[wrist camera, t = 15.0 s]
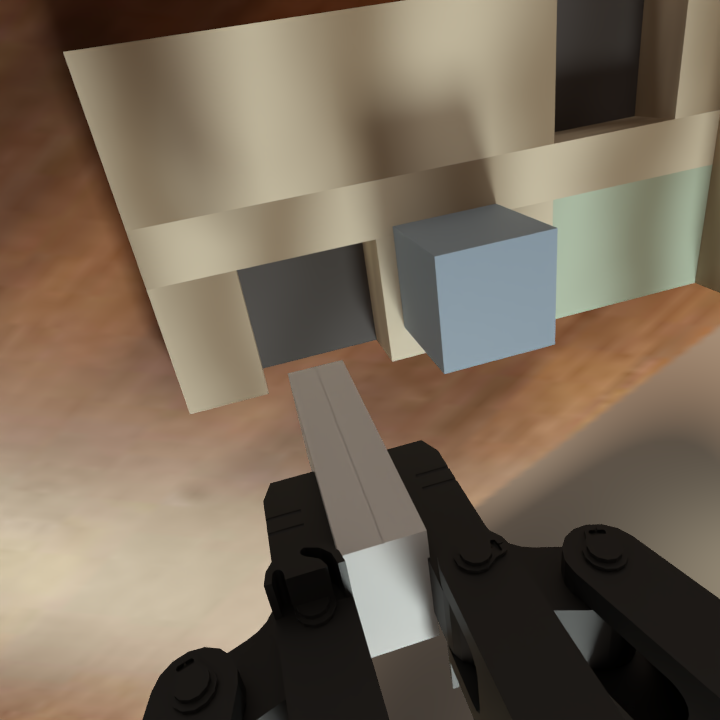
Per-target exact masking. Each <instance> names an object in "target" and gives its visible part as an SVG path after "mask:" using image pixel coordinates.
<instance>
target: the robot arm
mask: <svg viewBox="0 0 720 720" xmlns="http://www.w3.org/2000/svg"><path fill="white" fill-rule="evenodd" d="M288 376H289V380H290V385H291V389H292V393H293V397H294V401H295V405H296V410H297V414H298V418H299V422H300V426H301V430H302V435H303V439H304V443H305V447H306V451H307V455H308V459H309V463H310V466H311V470H312V472H310V473H306V474H303V475H299V476H295V477H292V478H288V479H285V480H281V481H277V482H274V483H270V486H269V488H268V491H267V493H266V496H265V498H264V501H263V502H264V510H265V517H266V524H267V532H268V539H269V546H270V553H271V561H272V562H271V564H270V566H269V568H268V569H267V571H266V573H265V581H264V588H265V591H266V594H267V597H268V600H269V603H270V606H271V609H272V613H271V615H270V617H269V619H268V620H267V622H266V623H265V624H264V625H263V627H262V628H261V629H260V630H259V631H258V632H257V633H256V634H255V635H253V636H252V637H251V638H249V639H248V640H247V641H245V642H244V643H242V644H241V645H239V646H238V647H236V648H235V649H233V650H231V651H230V652H228V653H226V652H224V651H223V650H221V649H218V648H207V647H204V648H200V649H197V650H193V651H190V652H187V653H186V654H184V655H183V656H181V657H179V658H178V659H176V660H175V661H173V662H172V663H171V664H170V665H169V666H168V667H167V669H166V670H165V671H164V672H163V673H162V674H161V675H160V676H159V678H158V680H157V682H156V684H155V686H154V688H153V690H152V692H151V695H150V698H149V701H148V704H147V707H146V711H145V714H144V717H143V720H389V717H388V714H387V710H386V707H385V704H384V700H383V696H382V693H381V690H380V686H379V683H378V679H377V676H376V672H375V669H374V665H373V662H372V659H371V658H372V657H375V656H378V655H381V654H384V653H387V652H390V651H393V650H396V649H399V648H402V647H405V646H408V645H411V644H414V643H417V642H420V641H423V640H426V639H429V638H432V637H435V636H438V635H439V628H438V622H439V624H440V627H441V629H442V631H443V634H444V636H445V638H446V640H447V647H448V656H449V664H450V673H451V679H452V684H453V689H454V688H457V687H459V685H460V687H461V690H462V692H463V694H464V697H465V699H466V702H467V704H468V706H469V709H470V711H471V713H472V716H473V718H474V720H720V599H719V598H718V597H716V596H715V595H713V594H712V593H711V592H709V591H708V590H706V589H705V588H704V587H702V586H701V585H699V584H698V583H697V582H695V581H694V580H693V579H691V578H690V577H688V576H687V575H686V574H684V573H683V572H682V571H680V570H679V569H677V568H676V567H675V566H673V565H672V564H670V563H669V562H668V561H666V560H665V559H664V558H662V557H661V556H659V555H658V554H657V553H655V552H654V551H652V550H651V549H650V548H648V547H647V546H646V545H644V544H643V543H641V542H640V541H639V540H637V539H636V538H635V537H633V536H631V535H630V534H628V533H626V532H624V531H622V530H620V529H618V528H615V527H610V526H607V525H602V524H601V525H599V524H597V525H585V526H582V527H579V528H576V529H573V530H572V531H571V532H570V533H569V534H568V535H567V536H566V537H565V540H564V543H563V546H562V547H540V548H531V547H520V546H516V545H513V544H509V543H508V542H507V541H506V540H505V539H504V538H503V537H502V536H500V535H497V534H496V533H493V532H491V531H489V529H488V528H487V527H486V526H485V524H484V523H483V521H482V520H481V518H480V516H479V515H478V513H477V512H476V510H475V509H474V507H473V505H472V504H471V502H470V501H469V499H468V498H467V496H466V494H465V493H464V491H463V490H462V488H461V486H460V485H459V483H458V482H457V481H456V480H455V477H454V475H453V474H452V472H451V471H450V469H448V467H447V464H446V463H445V461H444V460H443V458H442V456H441V455H440V453H439V452H438V451H437V450H436V449H434V448H433V447H431V446H430V445H428V444H426V443H425V442H423V441H422V440H420V441H417V442H413V443H409V444H406V445H402V446H399V447H395V448H391V449H388V450H387V449H386V447H385V445H384V443H383V441H382V439H381V437H380V435H379V433H378V431H377V429H376V427H375V425H374V423H373V421H372V419H371V417H370V415H369V413H368V411H367V409H366V407H365V405H364V403H363V401H362V399H361V397H360V395H359V393H358V391H357V389H356V387H355V384H354V382H353V380H352V378H351V376H350V374H349V372H348V370H347V368H346V366H345V364H344V362H343V360H341V361H337V362H333V363H329V364H325V365H321V366H317V367H313V368H309V369H305V370H301V371H296V372H292V373H288Z"/></svg>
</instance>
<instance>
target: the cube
mask: <svg viewBox="0 0 720 720" xmlns="http://www.w3.org/2000/svg"><path fill="white" fill-rule="evenodd" d="M557 233H558V228H556V227H554V226H551V225H549V224H546V223H544V222H541V221H538V220H536V219H533V218H531V217H528V216H526V215H523V214H521V213H518V212H516V211H513V210H511V209H508V208H506V207H503V206H501V205H498V204H492V205H488V206H483V207H478V208H474V209H469V210H465V211H460V212H456V213H451V214H447V215H442V216H437V217H433V218H428V219H424V220H419V221H415V222H410V223H405V224H401V225H396V226H393V234H394V243H395V251H396V260H397V268H398V276H399V285H400V293H401V302H402V310H403V319H404V327H405V329H406V330H407V331H408V332H409V333H410V334H411V336H412V337H413V338H414V339H415V340H416V341H417V343H418V344H419V345H420V346H421V347H422V348H423V350H424V351H425V352H426V353H427V354H428V355H429V357H430V358H431V359H432V360H433V361H434V362H435V364H436V365H437V366H438V367H439V368H440V369H441V371H442V372H443V373H444V374H446V373H450V372H454V371H457V370H461V369H465V368H469V367H472V366H476V365H480V364H484V363H487V362H491V361H495V360H498V359H502V358H506V357H510V356H513V355H517V354H521V353H525V352H528V351H532V350H536V349H539V348H543V347H547V346H551V345H554V344H555V316H556V275H557Z"/></svg>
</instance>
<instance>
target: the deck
mask: <svg viewBox="0 0 720 720" xmlns="http://www.w3.org/2000/svg"><path fill="white" fill-rule="evenodd" d="M63 53H64V56H65V59H66V62H67V65H68V68H69V70H70V73H71V76H72V79H73V82H74V85H75V88H76V90H77V93H78V96H79V99H80V102H81V105H82V108H83V110H84V113H85V116H86V119H87V122H88V125H89V127H90V130H91V133H92V136H93V139H94V142H95V145H96V147H97V150H98V153H99V156H100V159H101V162H102V164H103V167H104V170H105V173H106V176H107V179H108V182H109V184H110V187H111V190H112V193H113V196H114V199H115V202H116V204H117V207H118V210H119V213H120V216H121V219H122V221H123V224H124V227H125V230H126V233H127V236H128V239H129V241H130V244H131V247H132V250H133V253H134V256H135V259H136V261H137V264H138V267H139V270H140V273H141V276H142V278H143V281H144V284H145V287H146V290H147V293H148V296H149V298H150V301H151V304H152V307H153V310H154V313H155V316H156V318H157V321H158V324H159V327H160V330H161V333H162V335H163V338H164V341H165V344H166V347H167V350H168V353H169V355H170V358H171V361H172V364H173V367H174V370H175V373H176V375H177V378H178V381H179V384H180V387H181V390H182V392H183V395H184V398H185V401H186V404H187V407H188V410H189V412H190V414H193V413H197V412H201V411H204V410H208V409H212V408H216V407H220V406H224V405H227V404H231V403H235V402H239V401H243V400H247V399H250V398H254V397H258V396H262V395H266V394H269V393H268V388H267V384H266V380H265V376H264V371H263V368H266V367H270V366H274V365H278V364H282V363H286V362H290V361H294V360H298V359H302V358H306V357H310V356H314V355H318V354H322V353H326V352H329V351H333V350H337V349H341V348H345V347H349V346H353V345H357V344H361V343H365V342H369V341H373V340H377V341H378V342H379V344H380V345H381V346H382V348H383V349H384V351H385V352H386V353H387V355H388V356H389V358H390V359H391V360H392V361H396V360H400V359H404V358H408V357H412V356H415V355H419V354H423V353H426V352H425V351H424V350H423V348H422V347H421V346H420V345H419V344H418V343H417V341H416V340H415V339H414V338H413V337H412V336H411V334H410V333H409V332H408V331H407V330H406V329H405V327H404V319H403V310H402V302H401V293H400V285H399V276H398V268H397V260H396V251H395V243H394V234H393V226H396V225H401V224H405V223H410V222H415V221H419V220H424V219H428V218H433V217H437V216H442V215H447V214H451V213H456V212H460V211H465V210H469V209H474V208H478V207H483V206H488V205H492V204H498V205H501V206H503V207H506V208H508V209H511V210H513V211H516V212H518V213H521V214H523V215H526V216H528V217H531V218H533V219H536V220H538V221H541V222H544V223H546V224H549V225H551V226H554V227H556V228H558V233H557V275H556V316H555V319H557V318H561V317H565V316H569V315H573V314H577V313H580V312H584V311H588V310H592V309H596V308H600V307H603V306H607V305H611V304H615V303H619V302H623V301H626V300H630V299H634V298H638V297H642V296H646V295H649V294H653V293H657V292H661V291H665V290H669V289H672V288H676V287H680V286H684V285H688V284H692V283H697V284H699V285H702V286H704V287H707V288H710V289H712V290H715V291H717V292H720V0H404V1H397V2H390V3H384V4H377V5H371V6H364V7H357V8H351V9H344V10H338V11H331V12H324V13H318V14H311V15H304V16H298V17H291V18H285V19H278V20H271V21H265V22H258V23H252V24H245V25H238V26H232V27H225V28H219V29H212V30H205V31H199V32H192V33H186V34H179V35H172V36H166V37H159V38H152V39H146V40H139V41H133V42H126V43H119V44H113V45H106V46H100V47H93V48H86V49H80V50H73V51H67V52H63Z"/></svg>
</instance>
